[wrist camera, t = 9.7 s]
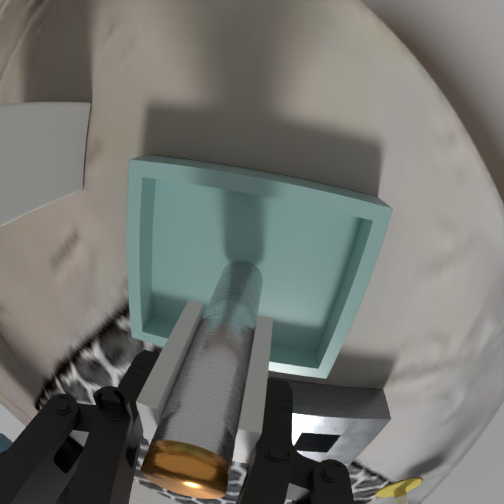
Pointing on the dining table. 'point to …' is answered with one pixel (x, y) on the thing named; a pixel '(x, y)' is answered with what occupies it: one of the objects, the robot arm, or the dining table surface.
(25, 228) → the dining table surface
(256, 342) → the robot arm
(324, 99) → the dining table surface
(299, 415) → the block
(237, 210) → the tray
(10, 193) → the milk carton
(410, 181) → the dining table surface
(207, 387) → the pin
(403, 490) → the candle
